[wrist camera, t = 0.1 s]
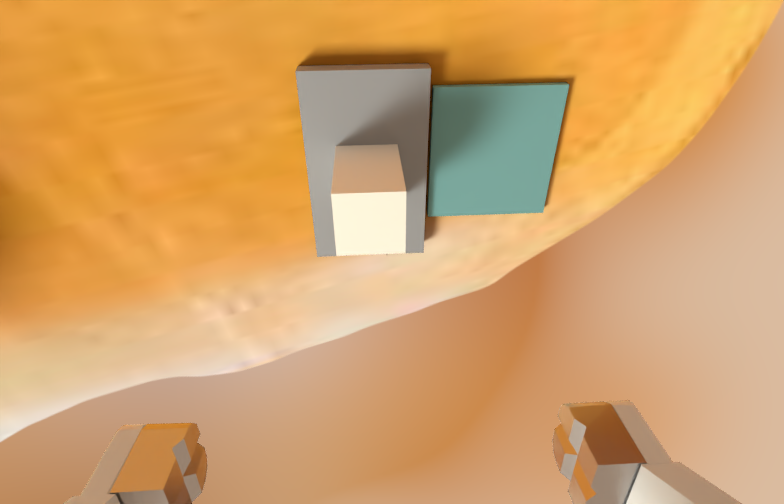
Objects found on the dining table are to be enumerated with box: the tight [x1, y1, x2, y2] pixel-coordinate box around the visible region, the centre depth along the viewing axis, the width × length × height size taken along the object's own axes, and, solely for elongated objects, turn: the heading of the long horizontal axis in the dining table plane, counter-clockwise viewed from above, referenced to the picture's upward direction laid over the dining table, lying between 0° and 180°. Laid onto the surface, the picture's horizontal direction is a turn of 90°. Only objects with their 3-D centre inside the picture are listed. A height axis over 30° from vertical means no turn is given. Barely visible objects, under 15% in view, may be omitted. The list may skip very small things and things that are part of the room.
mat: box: [427, 82, 569, 217], centre depth 48 cm, size 14×13×1 cm
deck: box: [296, 63, 431, 257], centre depth 48 cm, size 20×12×2 cm, turn 0°
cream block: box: [331, 144, 406, 256], centre depth 43 cm, size 6×6×10 cm
